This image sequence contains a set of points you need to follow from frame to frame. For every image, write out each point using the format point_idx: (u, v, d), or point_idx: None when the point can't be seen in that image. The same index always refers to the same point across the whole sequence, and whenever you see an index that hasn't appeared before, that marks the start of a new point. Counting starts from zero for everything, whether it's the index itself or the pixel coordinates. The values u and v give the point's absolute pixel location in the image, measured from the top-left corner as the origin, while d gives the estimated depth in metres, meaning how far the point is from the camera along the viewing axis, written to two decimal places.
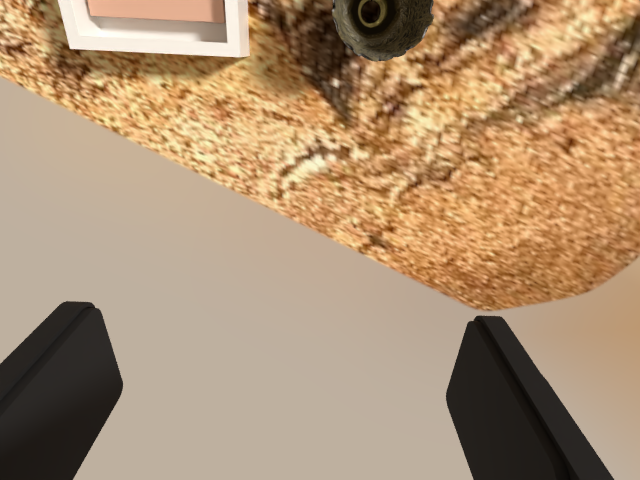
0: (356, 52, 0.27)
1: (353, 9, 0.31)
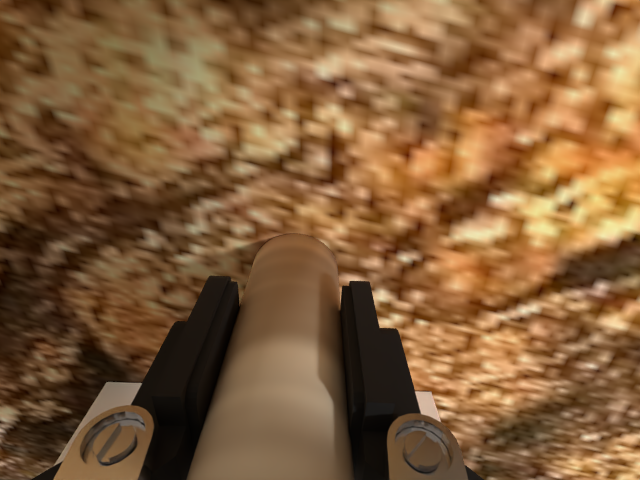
0: None
1: None
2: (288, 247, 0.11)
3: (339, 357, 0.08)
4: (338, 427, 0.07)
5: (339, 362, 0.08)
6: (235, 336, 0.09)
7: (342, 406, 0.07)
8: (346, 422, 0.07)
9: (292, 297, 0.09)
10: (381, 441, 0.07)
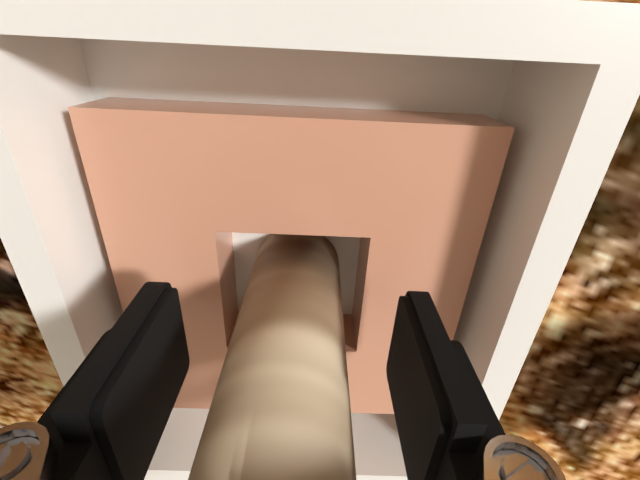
0: None
1: None
2: (290, 239, 0.12)
3: (340, 341, 0.09)
4: (339, 404, 0.07)
5: (340, 346, 0.09)
6: (240, 321, 0.09)
7: (343, 385, 0.08)
8: (346, 400, 0.07)
9: (295, 285, 0.09)
10: (470, 464, 0.06)
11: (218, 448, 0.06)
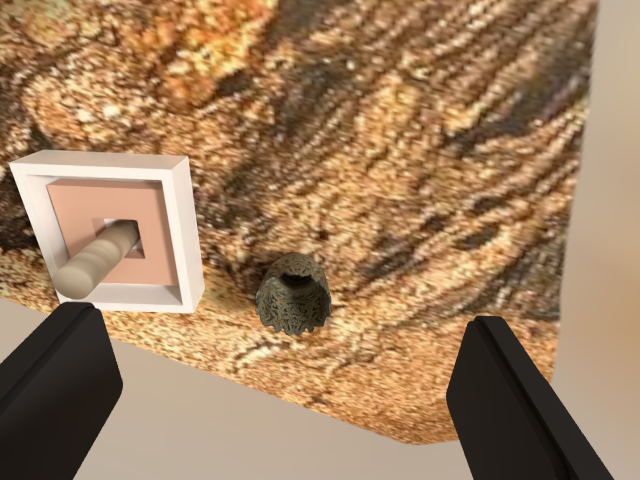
0: (276, 330, 0.36)
1: None
2: (119, 221, 0.37)
3: (117, 245, 0.34)
4: (105, 254, 0.32)
5: (116, 246, 0.34)
6: None
7: (110, 252, 0.33)
8: (110, 255, 0.33)
9: (109, 232, 0.34)
10: None
11: (73, 257, 0.31)
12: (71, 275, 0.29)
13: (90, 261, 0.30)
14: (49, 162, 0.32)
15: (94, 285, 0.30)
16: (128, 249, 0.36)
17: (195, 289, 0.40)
